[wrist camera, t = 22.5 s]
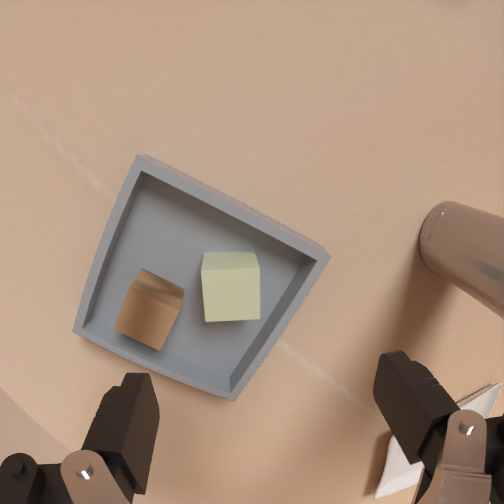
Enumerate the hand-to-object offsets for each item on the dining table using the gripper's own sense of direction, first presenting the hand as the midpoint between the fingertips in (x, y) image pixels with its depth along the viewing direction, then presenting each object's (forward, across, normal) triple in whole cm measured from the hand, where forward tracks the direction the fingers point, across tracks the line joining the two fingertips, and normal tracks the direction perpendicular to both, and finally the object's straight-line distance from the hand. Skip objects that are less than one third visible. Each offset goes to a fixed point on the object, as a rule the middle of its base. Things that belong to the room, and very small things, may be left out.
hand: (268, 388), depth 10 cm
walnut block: (+22, +10, +6) cm, 25 cm away
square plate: (+25, -38, +46) cm, 65 cm away
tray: (+23, +6, +5) cm, 24 cm away
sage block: (+22, +1, +4) cm, 23 cm away
